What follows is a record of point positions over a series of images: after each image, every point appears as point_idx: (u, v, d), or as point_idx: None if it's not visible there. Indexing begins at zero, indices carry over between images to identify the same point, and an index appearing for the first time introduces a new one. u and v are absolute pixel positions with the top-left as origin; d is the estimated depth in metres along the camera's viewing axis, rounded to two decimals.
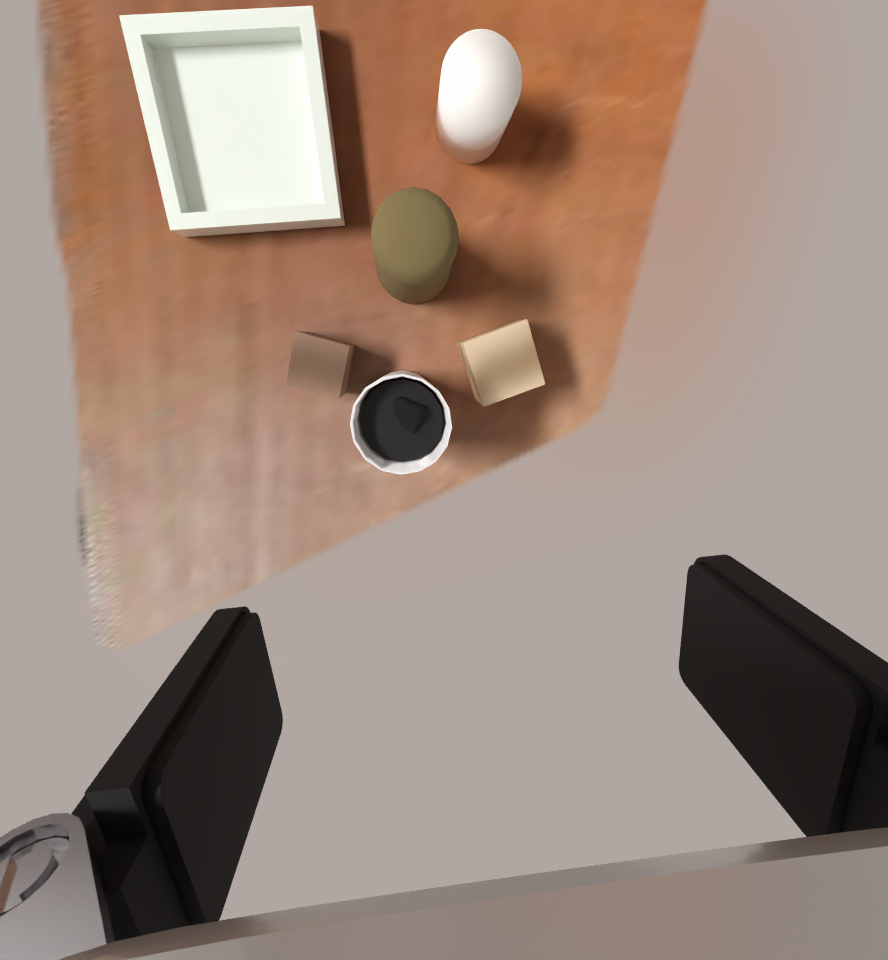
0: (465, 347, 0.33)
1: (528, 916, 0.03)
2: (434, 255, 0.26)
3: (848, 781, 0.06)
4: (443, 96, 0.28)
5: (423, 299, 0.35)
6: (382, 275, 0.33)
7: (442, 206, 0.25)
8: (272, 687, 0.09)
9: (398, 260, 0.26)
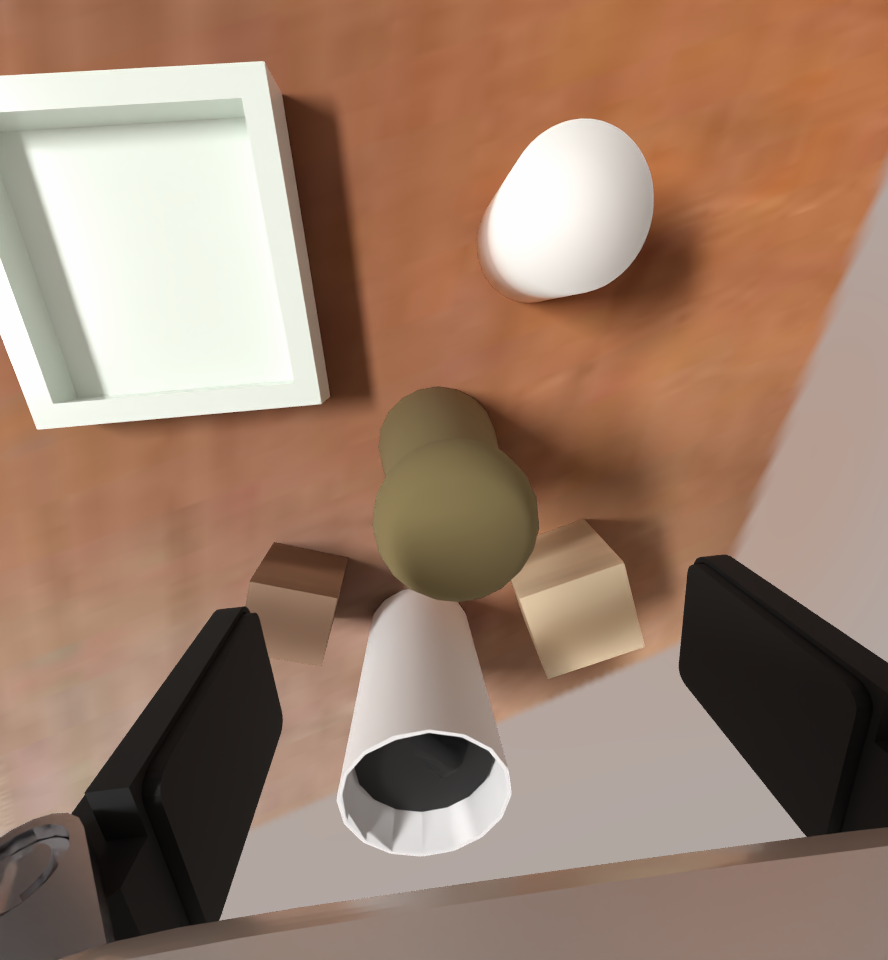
0: (523, 604, 0.21)
1: (528, 916, 0.03)
2: (496, 575, 0.13)
3: (849, 781, 0.06)
4: (506, 239, 0.15)
5: None
6: None
7: (514, 489, 0.13)
8: (272, 687, 0.09)
9: (426, 586, 0.13)
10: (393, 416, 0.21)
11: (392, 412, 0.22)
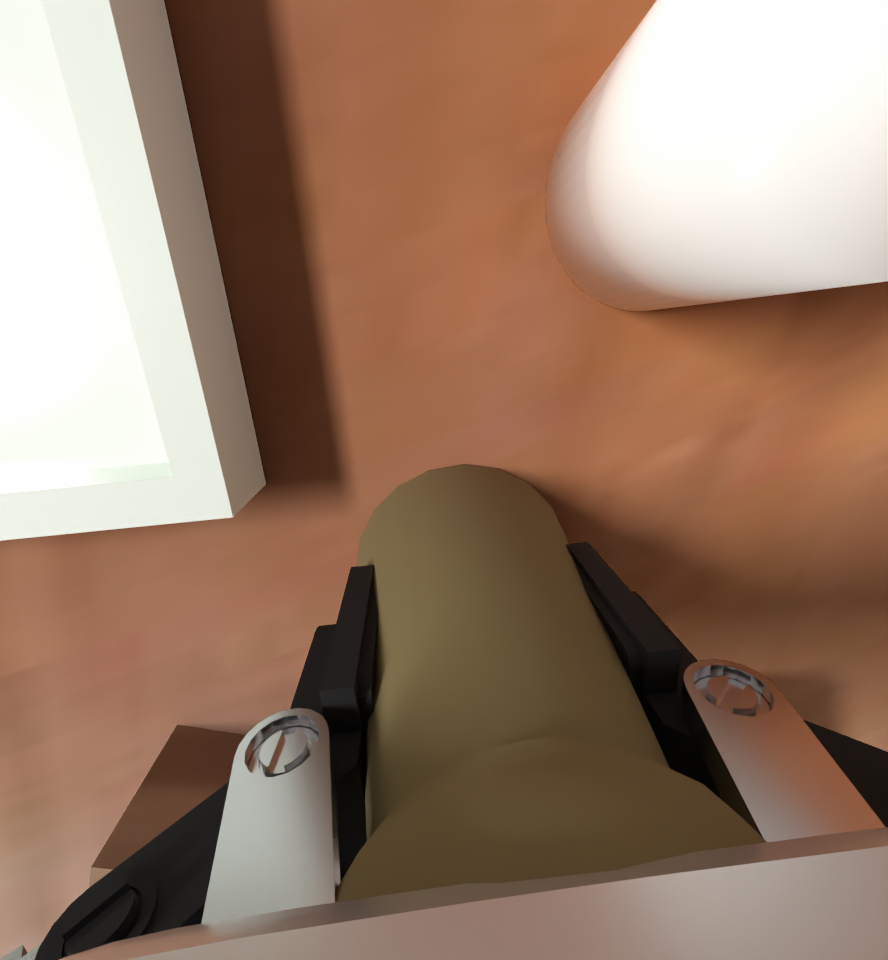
0: None
1: (528, 916, 0.03)
2: None
3: None
4: (709, 116, 0.05)
5: None
6: None
7: None
8: None
9: None
10: (382, 528, 0.11)
11: (381, 515, 0.12)
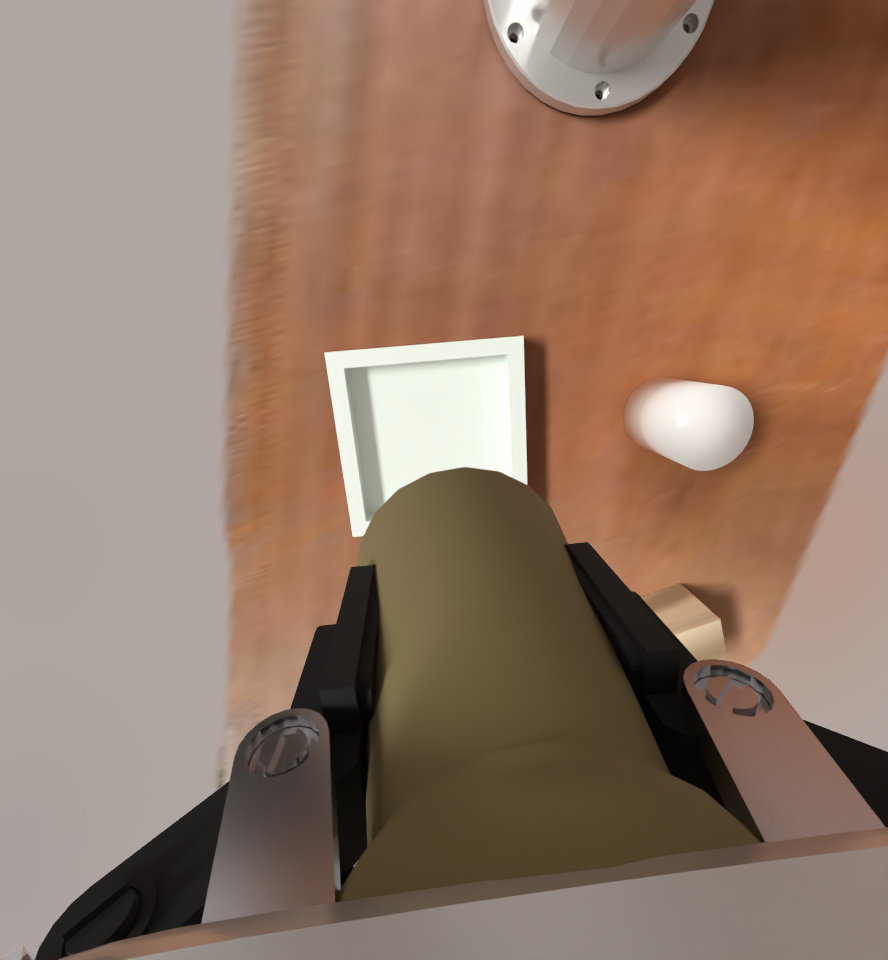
0: None
1: (528, 916, 0.03)
2: None
3: None
4: (669, 443, 0.26)
5: None
6: None
7: None
8: None
9: None
10: (382, 530, 0.11)
11: (381, 518, 0.12)
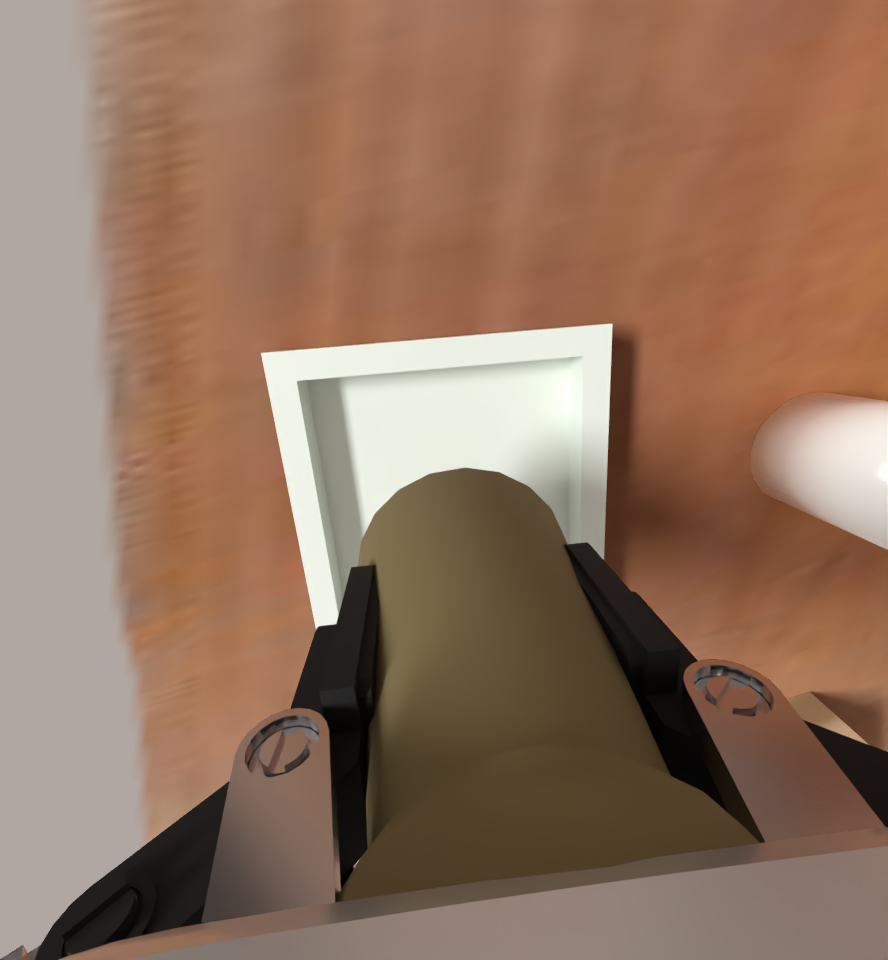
0: None
1: (528, 916, 0.03)
2: None
3: None
4: (880, 518, 0.15)
5: None
6: None
7: None
8: None
9: None
10: (382, 531, 0.11)
11: (381, 518, 0.12)
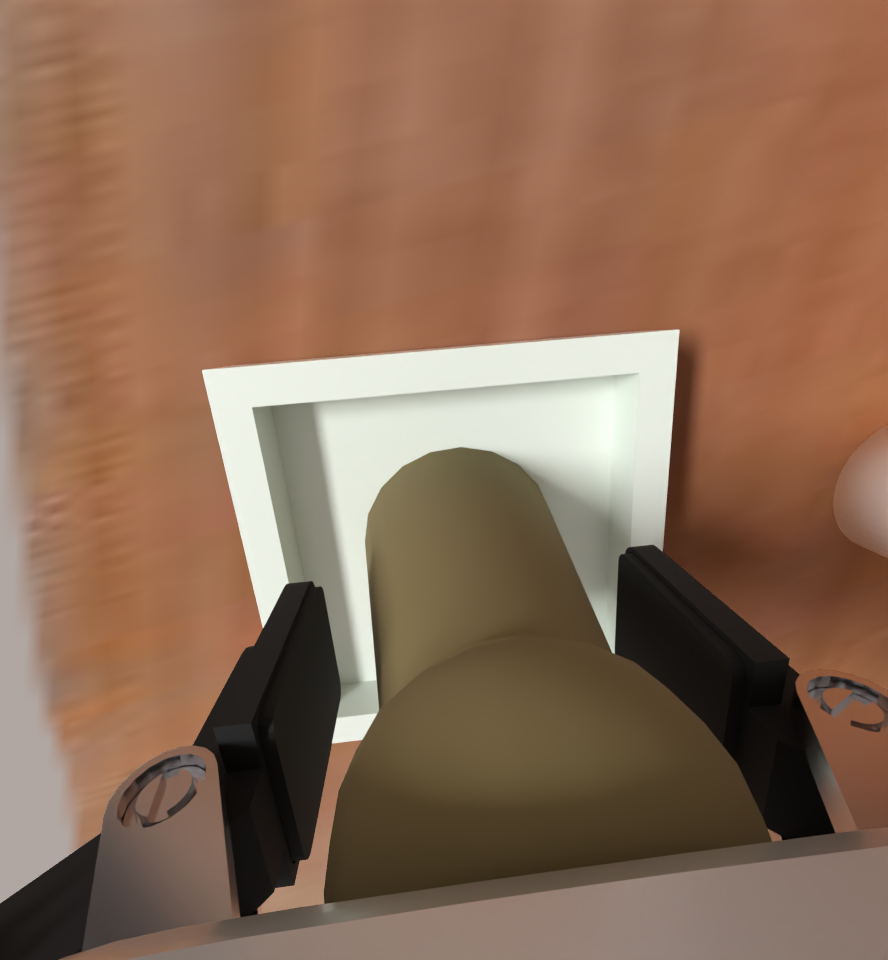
0: None
1: (528, 916, 0.03)
2: None
3: (735, 746, 0.07)
4: None
5: None
6: None
7: None
8: (333, 657, 0.10)
9: None
10: (388, 501, 0.12)
11: (387, 491, 0.13)
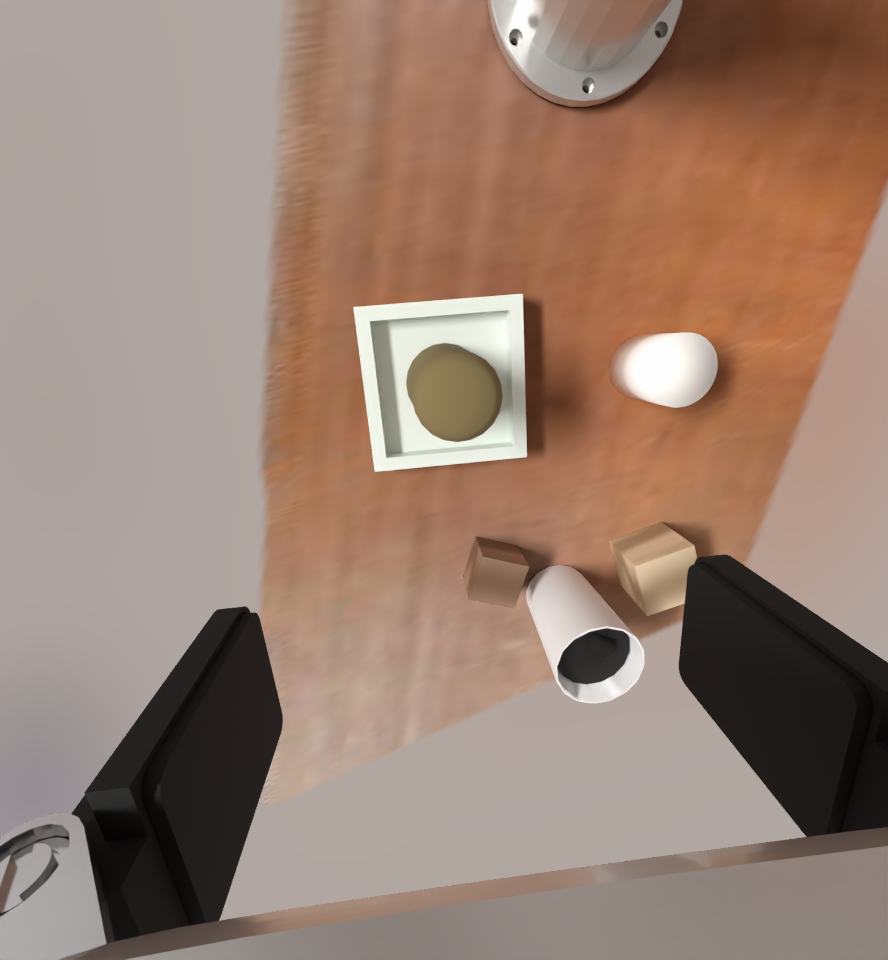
0: (636, 569, 0.36)
1: (528, 916, 0.03)
2: (479, 420, 0.25)
3: (849, 782, 0.06)
4: (646, 383, 0.31)
5: None
6: None
7: (488, 373, 0.24)
8: (272, 687, 0.09)
9: (442, 426, 0.25)
10: (417, 359, 0.33)
11: (416, 358, 0.33)
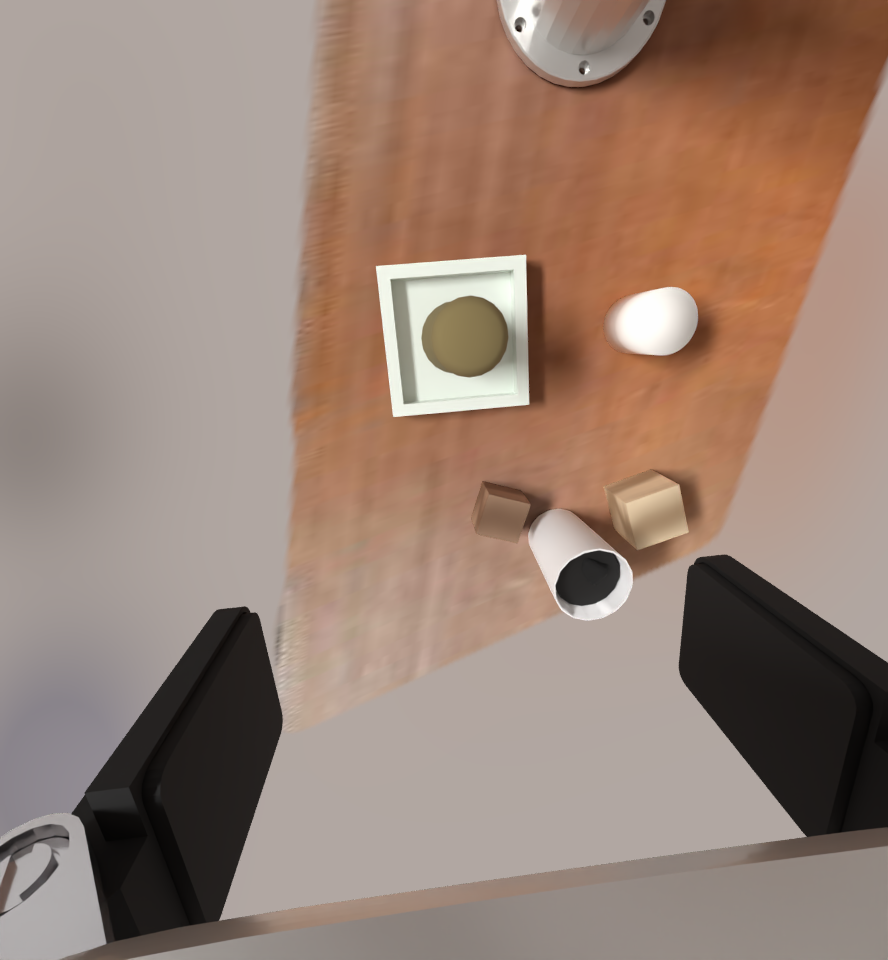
0: (627, 506, 0.40)
1: (528, 916, 0.03)
2: (488, 355, 0.29)
3: (848, 781, 0.06)
4: (635, 333, 0.35)
5: None
6: (429, 353, 0.37)
7: (496, 314, 0.29)
8: (272, 687, 0.09)
9: (456, 360, 0.29)
10: (431, 314, 0.37)
11: (430, 314, 0.38)
